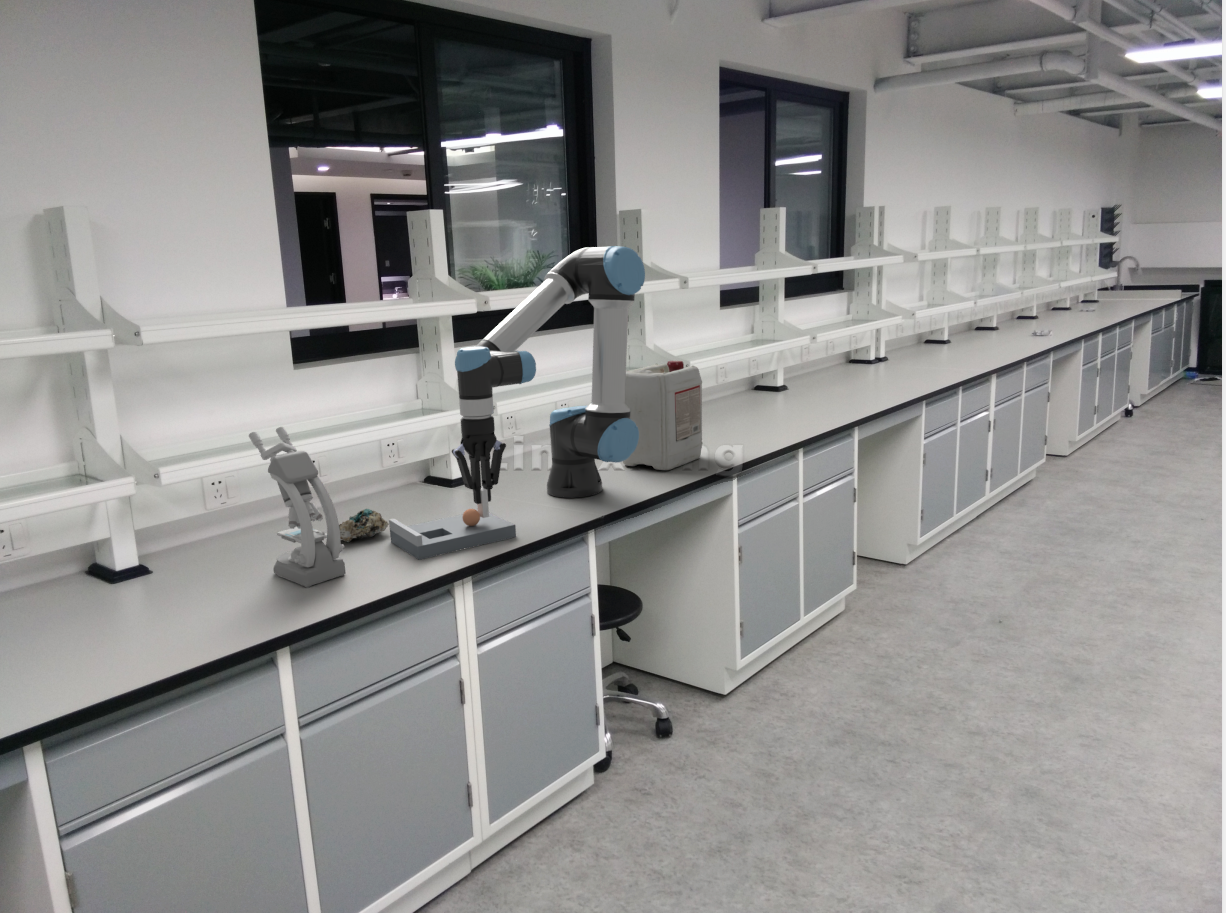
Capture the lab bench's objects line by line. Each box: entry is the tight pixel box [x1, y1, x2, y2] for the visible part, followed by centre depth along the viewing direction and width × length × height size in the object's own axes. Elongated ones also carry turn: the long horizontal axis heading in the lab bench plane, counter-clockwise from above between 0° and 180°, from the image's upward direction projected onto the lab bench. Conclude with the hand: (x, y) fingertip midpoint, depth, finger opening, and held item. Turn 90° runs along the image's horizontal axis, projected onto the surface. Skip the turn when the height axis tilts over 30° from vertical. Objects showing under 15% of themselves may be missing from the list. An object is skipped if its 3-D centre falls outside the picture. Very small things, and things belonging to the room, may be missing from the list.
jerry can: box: [622, 360, 704, 471], centre depth 271 cm, size 24×19×30 cm
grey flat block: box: [388, 511, 517, 561], centre depth 207 cm, size 24×16×5 cm, turn 125°
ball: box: [462, 508, 480, 526], centre depth 207 cm, size 4×4×4 cm
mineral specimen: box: [339, 508, 389, 543], centre depth 210 cm, size 12×9×8 cm
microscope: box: [248, 426, 346, 588], centre depth 185 cm, size 11×19×30 cm, turn 49°
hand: (483, 516), depth 209 cm, fingers closed
